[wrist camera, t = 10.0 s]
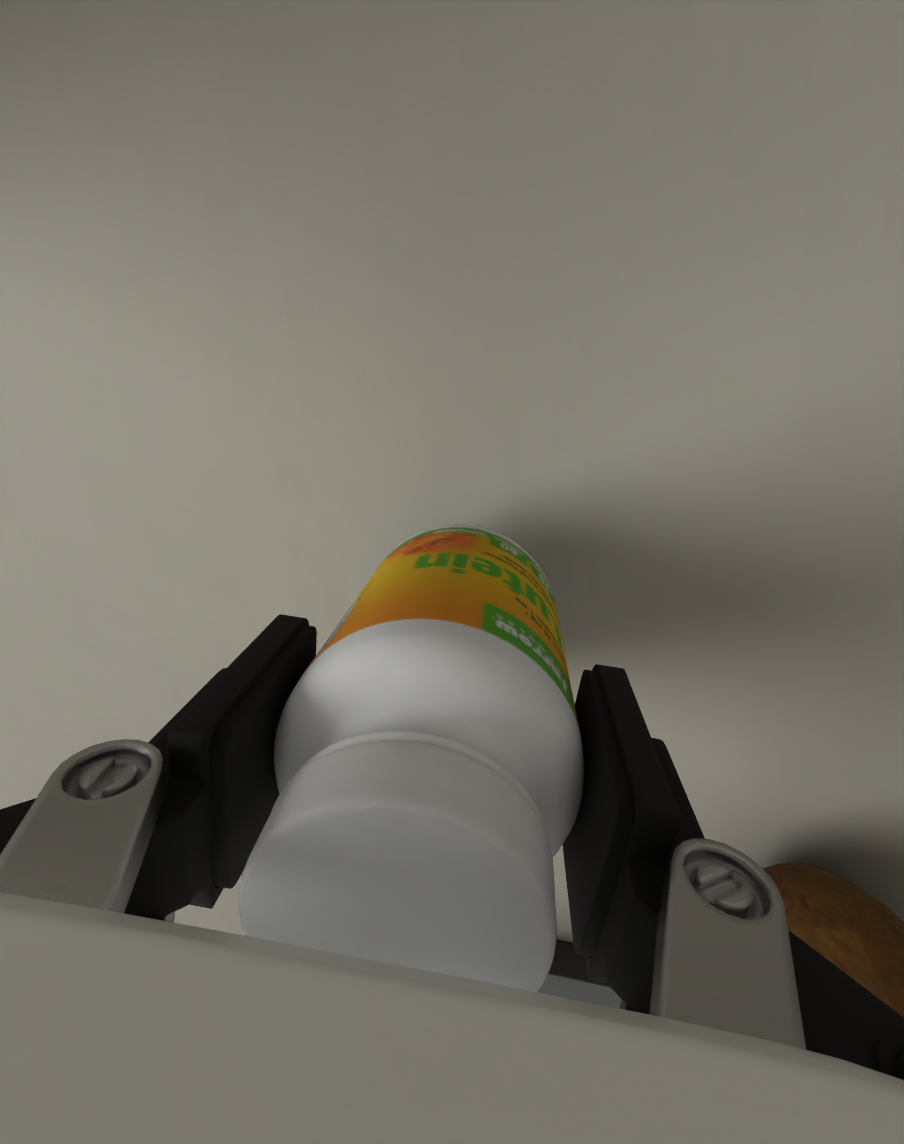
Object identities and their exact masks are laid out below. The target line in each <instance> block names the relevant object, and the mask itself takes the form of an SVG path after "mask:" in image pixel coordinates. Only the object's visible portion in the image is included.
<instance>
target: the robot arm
mask: <svg viewBox="0 0 904 1144" xmlns="http://www.w3.org/2000/svg"><path fill="white" fill-rule="evenodd" d="M316 637H317V631H316V628H315V627H313V626H309V622H308V620H307V619H306V618H300V617H294V616H287V615H278V616H277V617H276V618H275V619H274V620H273V621H272V622H271V623H270V624H269V625H268V626H267V627H266V628H265V630H264V631H263V632H262V633H261V634H260V635H259V636H258V637H257V638H256V639H255V640H254V641H253V642H252V643H251V644H250V645H249V646H248V647H247V648H246V649H245V650H244V651H243V652H242V653H241V654H240V655H239V656H238V657H237V658H236V659H235V660H234V661H233V662H232V663H231V664H230V665H229V666H228V668H224V669H222V670H220V671H219V672H218V673H217V674H216V675H215V676H214V677H213V678H212V679H211V680H210V681H209V682H208V683H207V684H206V685H205V686H204V687H203V688H202V689H201V690H200V691H199V692H198V693H197V694H196V695H195V696H194V697H193V698H192V699H191V700H190V701H189V702H188V703H187V704H186V705H185V706H184V707H183V708H182V709H181V710H180V711H179V712H178V713H177V714H176V715H175V716H174V717H173V718H172V719H171V720H170V721H169V722H168V723H167V724H166V725H165V726H164V727H163V728H162V729H161V730H160V731H159V732H158V733H157V734H156V735H155V736H154V737H153V738H152V739H151V740H150V741H149V742H148V743H147V742H143V741H140V740H127V739H123V740H115V741H108V742H104V743H101V744H97V745H94V746H90V747H88V748H86V749H84V750H82V751H80V752H78V753H75V754H74V755H72V756H71V757H70V758H68V759H67V760H65V761H64V762H63V763H61V764H60V766H59V767H58V768H57V769H56V770H55V771H54V772H53V773H52V775H51V776H50V778H49V779H48V781H47V783H46V784H45V786H44V787H43V789H42V790H41V792H40V794H39V795H38V797H37V798H35V799H32V800H29V801H26V802H23V803H20V804H16V805H13V806H10V807H7V808H4V809H1V810H0V1144H904V1017H902V1016H901V1015H900V1014H898V1013H897V1012H896V1011H894V1010H893V1009H892V1008H890V1007H889V1006H888V1005H886V1004H885V1003H884V1002H883V1001H881V1000H880V999H879V998H877V997H876V996H875V995H873V994H872V993H871V992H869V991H868V990H867V989H865V988H864V987H863V986H862V985H860V984H859V983H858V982H856V981H855V980H854V979H852V978H851V977H850V976H848V975H847V974H846V973H845V972H843V971H842V970H841V969H839V968H838V967H837V966H835V965H834V964H833V963H831V962H830V961H829V960H827V959H826V958H825V957H824V956H822V955H821V954H820V953H818V952H817V951H816V950H814V949H813V948H812V947H810V946H809V945H808V944H807V943H805V942H804V941H803V940H801V939H800V938H799V937H797V936H796V935H795V934H793V933H792V932H791V931H789V930H788V927H787V920H786V914H785V907H784V903H783V900H782V897H781V894H780V891H779V889H778V888H777V886H776V885H775V883H774V882H773V880H772V879H771V877H770V876H769V875H768V874H767V873H766V872H765V871H764V870H763V869H762V868H761V867H760V866H759V865H758V864H757V863H756V862H754V861H753V860H752V859H750V858H749V857H748V856H746V855H745V854H743V853H742V852H740V851H738V850H736V849H734V848H732V847H730V846H728V845H726V844H724V843H720V842H717V841H714V840H710V839H705V838H704V836H703V833H702V831H701V829H700V826H699V824H698V821H697V819H696V817H695V814H694V812H693V809H692V807H691V805H690V802H689V800H688V798H687V795H686V793H685V790H684V788H683V786H682V783H681V781H680V778H679V776H678V774H677V771H676V769H675V767H674V764H673V762H672V759H671V757H670V755H669V752H668V750H667V747H666V745H665V744H664V742H663V741H662V740H660V739H656V738H651V736H650V734H649V731H648V729H647V726H646V724H645V721H644V718H643V716H642V713H641V711H640V708H639V705H638V703H637V700H636V698H635V695H634V693H633V690H632V687H631V685H630V682H629V680H628V677H627V675H626V672H625V670H624V669H622V668H616V667H610V666H603V665H597V664H596V665H595V666H594V668H593V670H592V671H590V670H584V671H583V674H582V677H581V681H580V686H579V690H578V694H577V698H576V702H575V709H576V714H577V719H578V724H579V728H580V733H581V740H582V748H583V757H584V783H583V793H582V799H581V803H580V808H579V811H578V814H577V817H576V820H575V823H574V825H573V827H572V829H571V831H570V833H569V835H568V836H567V838H566V840H565V841H564V843H563V853H564V862H565V871H566V880H567V889H568V898H569V907H570V916H571V925H572V935H573V944H574V949H575V952H576V953H577V954H582V955H585V957H586V964H587V972H588V980H590V981H595V982H601V983H606V984H608V985H609V986H610V987H611V989H612V990H613V991H614V992H615V993H616V994H617V995H618V996H619V997H620V998H621V999H622V1000H621V1003H620V1008H613V1007H608V1006H603V1005H598V1004H593V1003H588V1002H583V1001H578V1000H573V999H568V998H563V997H558V996H553V995H548V994H543V993H538V992H533V991H528V990H523V989H518V988H513V987H508V986H503V985H497V984H492V983H487V982H482V981H477V980H472V979H467V978H462V977H457V976H452V975H446V974H441V973H436V972H431V971H426V970H420V969H415V968H410V967H405V966H400V965H395V964H389V963H384V962H379V961H374V960H369V959H363V958H358V957H353V956H348V955H342V954H337V953H332V952H327V951H322V950H316V949H311V948H306V947H301V946H295V945H290V944H285V943H280V942H274V941H269V940H264V939H259V938H253V937H248V936H242V935H237V934H232V933H226V932H221V931H216V930H210V929H205V928H199V927H194V926H189V925H183V924H178V923H173V922H174V917H175V911H176V910H179V909H181V908H183V907H185V906H187V905H189V904H190V905H195V906H200V907H205V908H211V909H212V908H213V906H214V904H215V902H216V901H217V899H218V897H219V895H220V893H221V892H222V890H223V888H229V889H231V888H233V887H234V886H235V884H236V883H237V881H238V879H239V877H240V876H241V874H242V872H243V870H244V868H245V866H246V863H247V860H248V858H249V856H250V854H251V852H252V850H253V848H254V846H255V844H256V842H257V840H258V838H259V836H260V834H261V832H262V830H263V828H264V826H265V824H266V822H267V820H268V818H269V816H270V814H271V811H272V809H273V806H274V804H275V802H276V800H277V798H278V797H279V795H280V794H279V790H278V786H277V781H276V774H275V767H274V744H275V737H276V731H277V727H278V723H279V720H280V717H281V714H282V711H283V709H284V706H285V704H286V702H287V700H288V698H289V696H290V694H291V693H292V691H293V689H294V688H295V686H296V685H297V683H298V681H299V680H300V678H301V676H302V674H303V673H304V672H305V670H306V669H307V668H308V666H309V665H310V663H311V662H312V660H313V659H314V658H315V657H316Z"/></svg>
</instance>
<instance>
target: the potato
mask: <svg viewBox="0 0 904 1144" xmlns="http://www.w3.org/2000/svg"><path fill="white" fill-rule="evenodd" d="M763 870H764V871H765V872H766V873H767V874H768V875H769V876H770V877H771V879H772V880H773V882H774V883H775V885H776V886H777V888H778V889H779V891H780V894H781V897H782V900H783V903H784V907H785V914H786V920H787V927H788V930H789V931H791V932H792V933H793V934H795V935H796V936H797V937H799V938H800V939H801V940H803V941H804V942H805V943H807V944H808V945H809V946H810V947H812V948H813V949H814V950H816V951H817V952H818V953H820V954H821V955H822V956H824V957H825V958H826V959H827V960H829V961H830V962H831V963H833V964H834V965H835V966H837V967H838V968H839V969H841V970H842V971H843V972H845V973H846V974H847V975H848V976H850V977H851V978H852V979H854V980H855V981H856V982H858V983H859V984H860V985H862V986H863V987H864V988H865V989H867V990H868V991H869V992H871V993H872V994H873V995H875V996H876V997H877V998H879V999H880V1000H881V1001H883V1002H884V1003H885V1004H886V1005H888V1006H889V1007H890V1008H892V1009H893V1010H894V1011H896V1012H897V1013H898V1014H900V1015H901V1016H902V1017H904V922H903V921H902V920H900V919H899V918H898V917H897V916H896V915H895V914H894V913H893V912H892V911H891V910H890V909H888V908H887V907H886V906H885V905H884V904H882V903H881V902H880V901H878V900H877V899H875V898H874V897H872V896H871V895H869V894H868V893H866V892H865V891H863V890H862V889H860V888H859V887H857V886H856V885H854V884H853V883H851V882H849V881H847V880H845V879H843V878H841V877H839V876H837V875H835V874H833V873H830V872H827V871H824V870H821V869H818V868H815V867H812V866H809V865H806V864H777V865H774V866H770V867H767V868H764V869H763Z"/></svg>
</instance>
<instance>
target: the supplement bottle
mask: <svg viewBox="0 0 904 1144" xmlns="http://www.w3.org/2000/svg"><path fill="white" fill-rule="evenodd" d="M274 767H275V774H276V781H277V786H278V790H279V794H280V795H279V797H278V798H277V800H276V802H275V804H274V806H273V809H272V811H271V814H270V816H269V818H268V820H267V822H266V824H265V826H264V828H263V830H262V832H261V834H260V836H259V838H258V840H257V842H256V844H255V846H254V848H253V850H252V852H251V854H250V856H249V858H248V860H247V863H246V866H245V868H244V871H243V874H242V878H241V885H240V892H239V910H240V917H241V921H242V926H243V929H244V932H245V934H246V936H248V937H253V938H259V939H264V940H269V941H274V942H280V943H285V944H290V945H295V946H301V947H306V948H311V949H316V950H322V951H327V952H332V953H337V954H342V955H348V956H353V957H358V958H363V959H369V960H374V961H379V962H384V963H389V964H395V965H400V966H405V967H410V968H415V969H420V970H426V971H431V972H436V973H441V974H446V975H452V976H457V977H462V978H467V979H472V980H477V981H482V982H487V983H492V984H497V985H503V986H508V987H513V988H518V989H523V990H528V991H533V992H538V990H539V989H540V987H541V986H542V984H543V983H544V981H545V979H546V977H547V975H548V972H549V970H550V967H551V964H552V961H553V958H554V952H555V947H556V938H557V927H556V909H555V891H554V873H553V856H554V855H555V854H556V853H557V851H558V850H559V849H560V847H561V846H562V844H563V843H564V841H565V840H566V838H567V836H568V835H569V833H570V831H571V829H572V827H573V825H574V823H575V820H576V817H577V814H578V811H579V808H580V803H581V799H582V793H583V783H584V757H583V748H582V740H581V733H580V728H579V724H578V719H577V714H576V709H575V704H574V700H573V695H572V690H571V685H570V680H569V675H568V670H567V664H566V659H565V654H564V648H563V643H562V638H561V632H560V627H559V621H558V615H557V610H556V605H555V601H554V598H553V594H552V591H551V588H550V585H549V582H548V580H547V578H546V576H545V575H544V573H543V571H542V570H541V568H540V566H539V565H538V564H537V563H536V561H535V560H534V559H533V558H532V557H531V556H530V555H529V554H528V553H527V552H526V551H525V550H524V549H523V548H522V547H521V546H519V545H518V544H517V543H515V542H514V541H512V540H511V539H509V538H507V537H505V536H504V535H501V534H499V533H497V532H494V531H492V530H489V529H486V528H482V527H477V526H470V525H444V526H439V527H434V528H430V529H427V530H424V531H421V532H419V533H417V534H415V535H413V536H411V537H409V538H408V539H406V540H405V541H403V542H402V543H400V544H399V545H398V546H397V547H396V548H395V549H394V550H393V551H391V552H390V554H389V555H388V556H387V557H386V558H385V559H384V561H383V562H382V563H381V564H380V566H379V567H378V569H377V570H376V571H375V573H374V574H373V576H372V577H371V578H370V580H369V581H368V583H367V584H366V586H365V587H364V589H363V590H362V591H361V593H360V594H359V596H358V597H357V599H356V600H355V602H354V603H353V604H352V606H351V607H350V609H349V610H348V612H347V613H346V614H345V616H344V617H343V619H342V620H341V621H340V623H339V624H338V626H337V627H336V629H335V630H334V631H333V633H332V634H331V636H330V637H329V639H328V640H327V641H326V643H325V644H324V646H323V647H322V649H321V650H320V651H319V653H318V654H317V655H316V657H315V658H314V659H313V660H312V662H311V663H310V665H309V666H308V668H307V669H306V670H305V672H304V673H303V674H302V676H301V678H300V680H299V681H298V683H297V685H296V686H295V688H294V689H293V691H292V693H291V694H290V696H289V698H288V700H287V702H286V704H285V706H284V709H283V711H282V714H281V717H280V720H279V723H278V727H277V731H276V737H275V744H274Z"/></svg>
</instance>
